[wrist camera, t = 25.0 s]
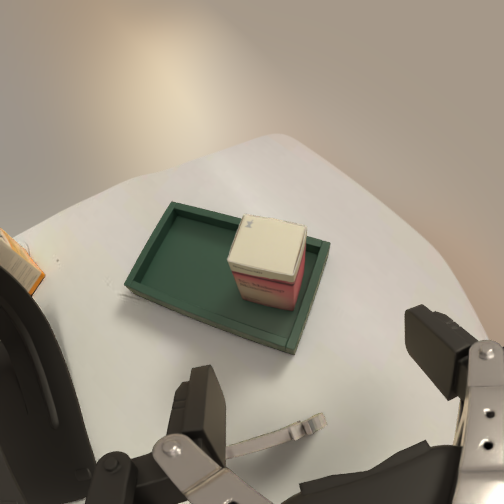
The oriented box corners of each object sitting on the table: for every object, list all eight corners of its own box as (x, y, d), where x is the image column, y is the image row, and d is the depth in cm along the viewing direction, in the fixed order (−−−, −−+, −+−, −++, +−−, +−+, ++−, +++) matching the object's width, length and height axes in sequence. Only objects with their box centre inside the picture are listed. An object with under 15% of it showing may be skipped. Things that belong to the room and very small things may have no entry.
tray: (328, 254, 31) (330, 242, 29) (294, 355, 27) (294, 350, 25) (177, 213, 36) (171, 201, 34) (133, 293, 32) (123, 284, 30)
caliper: (319, 412, 24) (326, 411, 19) (323, 423, 23) (332, 425, 18) (112, 467, 23) (74, 473, 17) (116, 477, 22) (78, 485, 17)
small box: (241, 300, 29) (223, 261, 22) (254, 259, 31) (242, 211, 24) (294, 313, 28) (294, 277, 21) (305, 270, 30) (308, 224, 23)
